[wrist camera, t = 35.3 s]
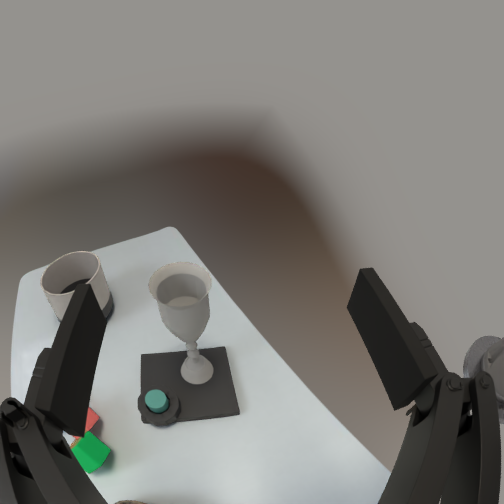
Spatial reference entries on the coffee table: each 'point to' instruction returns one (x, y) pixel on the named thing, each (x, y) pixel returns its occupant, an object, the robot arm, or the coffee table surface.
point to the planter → (75, 281)
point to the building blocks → (90, 446)
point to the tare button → (156, 401)
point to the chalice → (185, 311)
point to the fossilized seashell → (129, 502)
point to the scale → (187, 388)
